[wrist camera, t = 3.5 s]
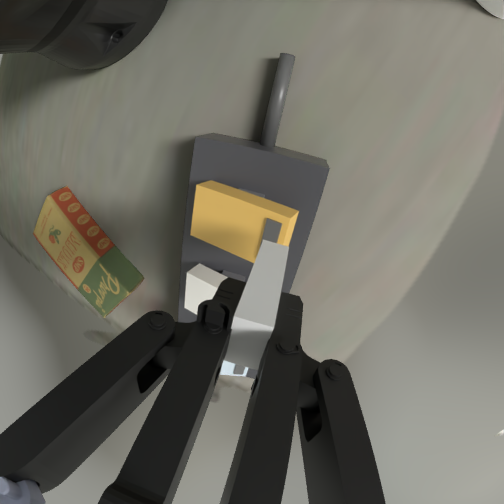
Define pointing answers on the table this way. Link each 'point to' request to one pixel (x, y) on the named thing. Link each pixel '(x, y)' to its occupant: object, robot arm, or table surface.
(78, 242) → the carton
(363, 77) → the table surface
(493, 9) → the water bottle
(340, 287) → the table surface
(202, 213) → the rocker amber
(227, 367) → the rocker blue
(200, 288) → the rocker white
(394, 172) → the table surface
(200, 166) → the power strip
